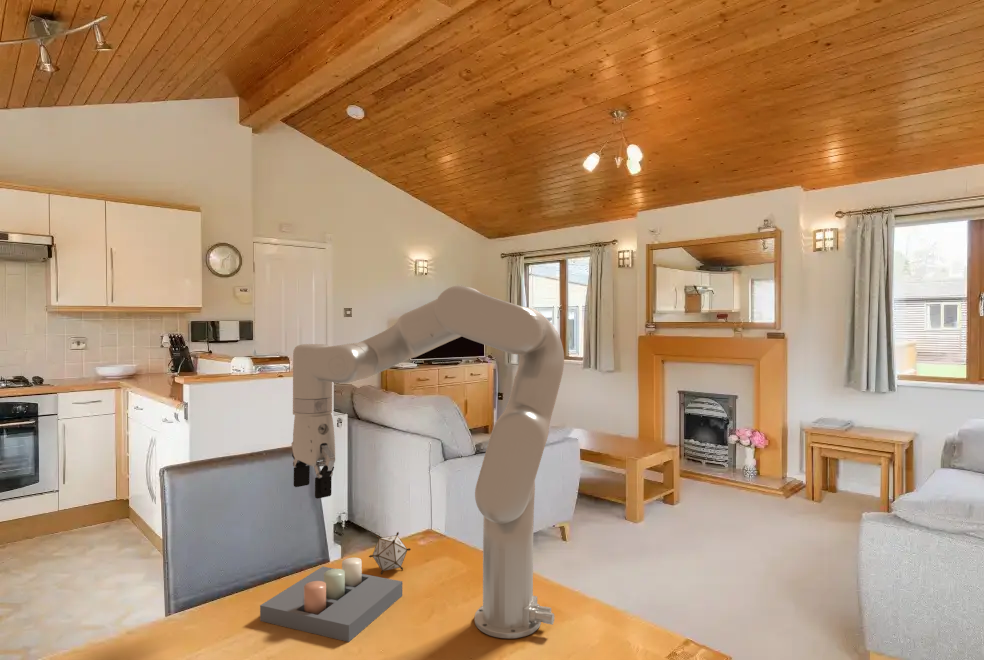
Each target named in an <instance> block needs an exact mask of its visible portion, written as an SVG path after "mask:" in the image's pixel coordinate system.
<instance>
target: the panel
mask: <svg viewBox="0 0 984 660" xmlns="http://www.w3.org/2000/svg"><path fill="white" fill-rule="evenodd" d="M331 569H334V567H333V568H332V567H327V566H321V567H319V568H318V569H316V570H314V571H313V572H311V573H309V574H308V575H306V576H305V577H304V578H302V579H300V580H299V581H296V582H295V583H294V584H292V585H291V586H289V587H288V588H286V589H284V590H283V591H281V592H279V593H278V594H276V595H275V596H273V597H271V598H269V599H267V601H265V602H264V603H262V604H260V605H259V610H260V611H259V612H260V614H259V615H260V616H259V617H260V618H259V621H260V622H264V623H268V624H272V625H276V626H279V627H280V626H281V627H285V628H289V629H293V630H298V631H302V632H305V633H310V634H314V635H319V636H322V637H327V638H330V639H334V640H339V641H344V642H347V643H350V642H351V641H352V640H353V639H354V638H355V637H357V636H358V635H359V634H360V633H362V632H363V630H365V629H366V628H367V627H368V626H369V625H370V624H371V623H372V622H374V621H375V620H377V618H379V616H381V615H382V614H384V612H386V611H387V609H389V608H390V607H391V606H392V605H393V604H395V603H396V602H397V601H398V600H399V599H400V598H402V597H403V581H402V580H397V579H392V578H386V577H380V576H377V575H376V576H375V575H371V574H365V573H362V583H361V584H359V585H358V586H357V587H350V586H345V595H344V596H343V597H342V598H340V599H339V600H338V601H337V600H332V599H327V598H326V609H325V610H324V611H323V612H321V613H320V614H318V615H315V614H311V613H307V612H304V586H305V585H306V584H307V583H309V582H313V581H323V582H324V573H325V572H326V571H328V570H331Z"/></svg>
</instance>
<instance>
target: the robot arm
mask: <svg viewBox="0 0 984 660" xmlns="http://www.w3.org/2000/svg"><path fill="white" fill-rule="evenodd" d="M461 337H463V338H465V339H468V340H470V341H473V342H476V343H479V344H482V345H484V346H487V347H490V348H493V349H496V350H499V351H501V352H505V353H508V354H512V355H517V356H519V362H518V366H517V370H516V373H515V376H514V379H513V383H512V387H511V391H510V394H509V398H508V402H507V404H506V406H505V409H504V411H503V412H502V413H501V414H500V416H499V417H498V419H497V420H496V421H495V423H494V425H493V427H492V430H491V433H490V436H489V439H488V443H487V447H486V449H485V453H484V457H483V460H482V464H481V467H480V470H479V474H478V476H477V481H476V485H475V489H474V499H475V503H476V506H477V508H478V511H479V512H480V514H481V515H482V516H483V523H482V524H483V528H482V529H483V530H482V532H483V534H482V538H483V539H482V605H481V606H480V607H479V608H478V609H477V610H476V611H475V614H474V625H475V627H476V628H477V629H479V631H480V632H482V633H484V634H486V635H487V636H490V637H494V638H499V639H519V638H524V637H526V636H529V635H532V634H534V633H536V631H537V630H539V628H540V627H541V623H543V624H547V625H553V624H554V622H555V613H553V612H552V607H549V606H542V605H540V604H539V603H538V596H537V595H534V517H535V516H534V515H535V514H534V513H535V497H536V496H535V493H536V491H535V490H536V478H537V474H538V471H539V467H540V464H541V460H542V458H543V454H544V450H545V447H546V444H547V441H548V437H549V433H550V423H551V418H552V416H553V411H554V408H555V405H556V402H557V396H558V394H559V390H560V386H561V382H562V377H563V372H564V367H565V352H564V347H563V343H562V339H561V337H560V334H559V332H558V331H557V329H556V328H555V326H554V325H553V324H552V323H551V322H550V320H549V319H547V317H546V316H545V315H543V314H542V313H541V312H539V311H538V310H536V309H534V308H532V307H528V306H522V305H518V304H515V303H512V302H509V301H506V300H502V299H500V298H497V297H493V296H491V295H488V294H484V293H483V292H481V291H479V290H477V289H476V288H473V287H470V286H466V285H453V286H450V287H448V288H446V289H445V290H443V291H442V292H441V293H440V294H439V295H438V297H437V298H436V299H434V300H432V301H430V302H428V303H425V304H423V305H421V306H419V307H416V308H413V309H412V310H410V311H407V312H405V313H403V314H401V315H400V316H399V317H398V318H397V320H396V322H395V323H394V324H393V325H392V326H390V327H389V328H387V329H385V330H384V331H381V332H379V333H378V334H377V333H376V334H375V335H372V336H371V337H369V338H367V339H364V340H362V341H359V342H354V343H346V344H339V345H331V346H330V345H328V344H323V343H308V344H307V343H304V344H303V343H302V344H298V345H296V346H295V347H294V349H293V352H292V415H294V420H293V430H292V431H293V432H292V442H291V449H292V455H291V457H292V458H293V459H292V460H293V461H292V466H293V487H295V488H299V487H305V486H309V485H310V478H311V477H310V474H311V473H310V470H311V468H310V467H313V468H314V471H315V474H316V477H314V498H315V499H316V500H317V499H322V498H328V497H331V495H332V479H333V478H332V477H333V474H334V473H333V472H334V469H335V463H336V440H335V439H336V437H335V427H334V426H335V425H334V420H333V415H332V413H333V383H335V384H336V383H337V384H350V383H353V382H356V381H360V380H364V379H367V378H370V377H373V376H375V375H377V374H379V373H382V372H384V371H385V370H388V369H390V368H393V367H395V366H397V365H399V364H401V363H404V362H405V361H407V360H411V359H413V358H414V359H415V358H417V357H419V356H421V355H423V354H425V353H428V352H430V351H432V350H434V349H436V348H438V347H441V346H443V345H446V344H447V343H449V342H452V341H455V340H456V339H459V338H461ZM321 467H322V468H321Z"/></svg>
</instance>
